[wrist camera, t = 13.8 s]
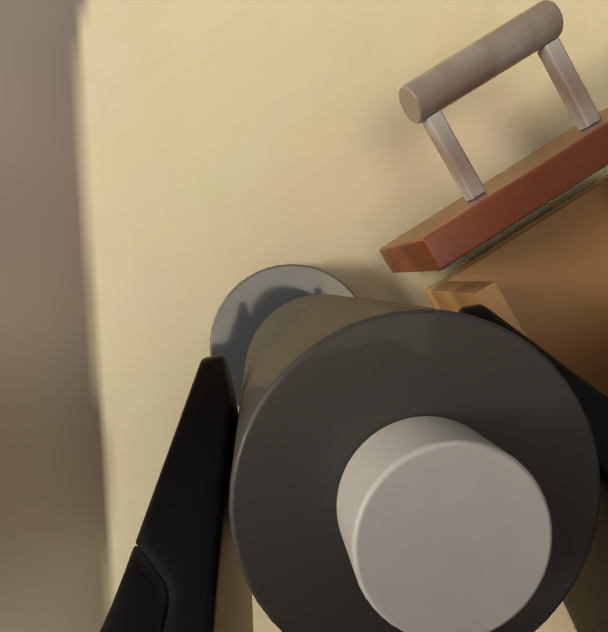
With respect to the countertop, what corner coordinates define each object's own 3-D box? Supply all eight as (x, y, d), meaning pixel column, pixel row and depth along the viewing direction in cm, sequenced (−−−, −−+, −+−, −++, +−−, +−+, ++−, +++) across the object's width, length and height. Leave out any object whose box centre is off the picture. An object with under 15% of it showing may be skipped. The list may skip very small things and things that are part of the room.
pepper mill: (295, 474, 15) (373, 848, 5) (215, 344, 15) (130, 476, 5) (424, 395, 15) (740, 604, 5) (349, 265, 15) (540, 227, 5)
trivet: (265, 441, 23) (266, 456, 21) (184, 317, 23) (177, 320, 21) (389, 362, 24) (401, 369, 22) (312, 237, 23) (318, 233, 21)
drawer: (320, 153, 22) (344, 107, 16) (545, 15, 22) (647, -77, 17) (529, 503, 24) (617, 575, 18) (731, 369, 24) (880, 397, 19)
